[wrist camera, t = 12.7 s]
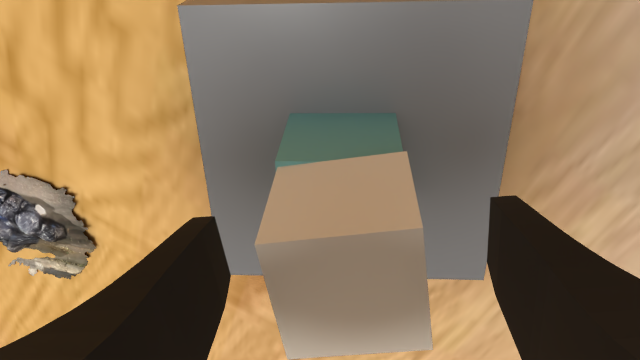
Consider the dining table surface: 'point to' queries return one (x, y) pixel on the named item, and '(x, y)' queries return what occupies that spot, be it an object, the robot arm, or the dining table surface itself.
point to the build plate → (359, 103)
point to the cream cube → (346, 258)
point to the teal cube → (337, 137)
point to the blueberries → (42, 226)
